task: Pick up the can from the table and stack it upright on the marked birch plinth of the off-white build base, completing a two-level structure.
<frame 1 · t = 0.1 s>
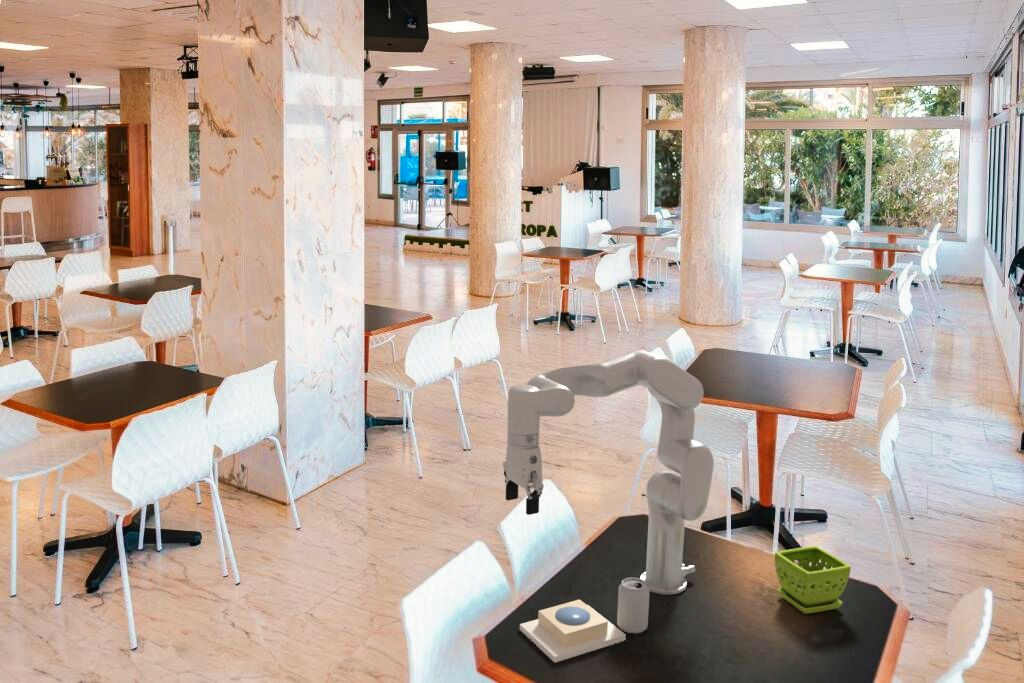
hand: (521, 506, 209), 31 cm above the table, tool pointing down, fingers open, 9 cm apart
flower pot: (808, 604, 228), on the table
can: (632, 628, 215), on the table
build base: (572, 635, 211), on the table
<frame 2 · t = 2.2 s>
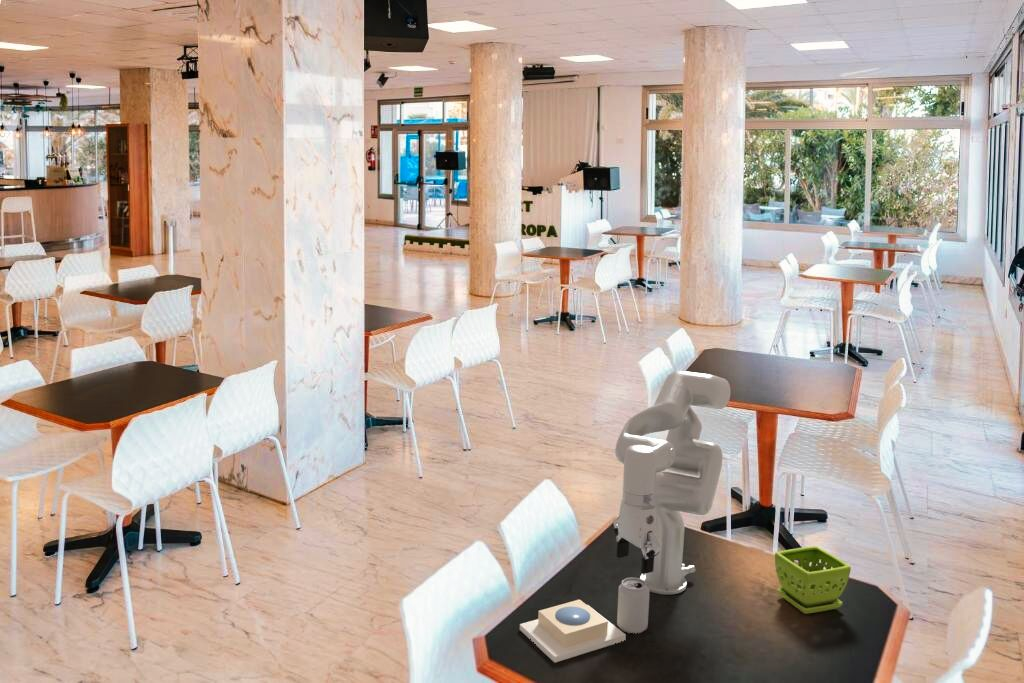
hand: (634, 564, 211), 17 cm above the table, tool pointing down, fingers open, 9 cm apart
nothing on the table moved.
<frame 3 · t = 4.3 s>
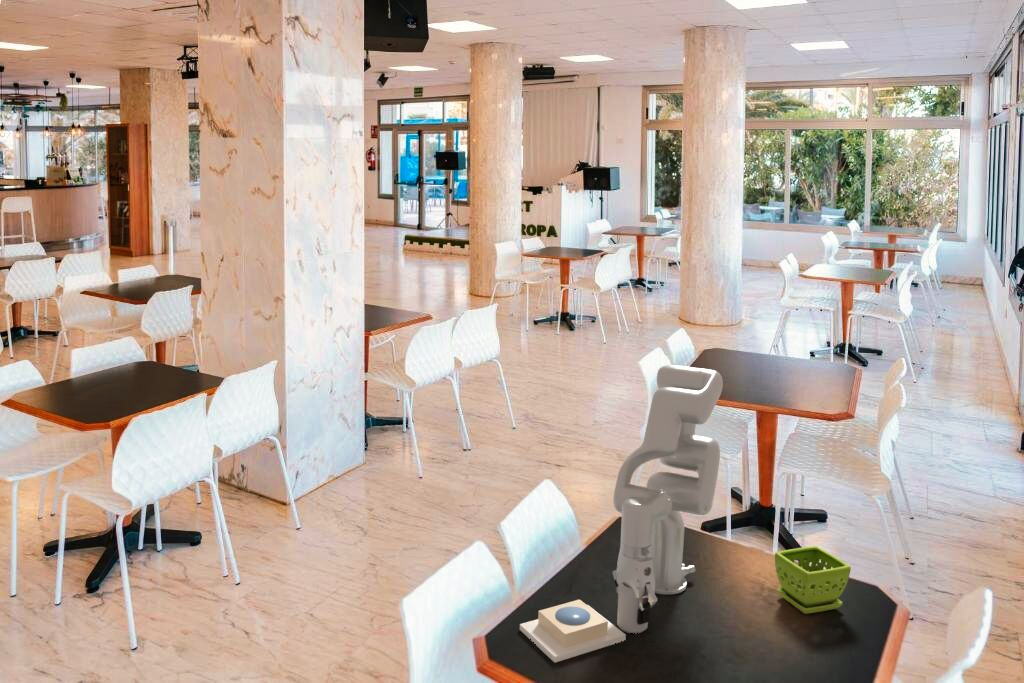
hand: (632, 614, 214), 3 cm above the table, tool pointing down, fingers closed on can, 7 cm apart
can: (632, 628, 215), on the table, touching gripper
everything else where it was.
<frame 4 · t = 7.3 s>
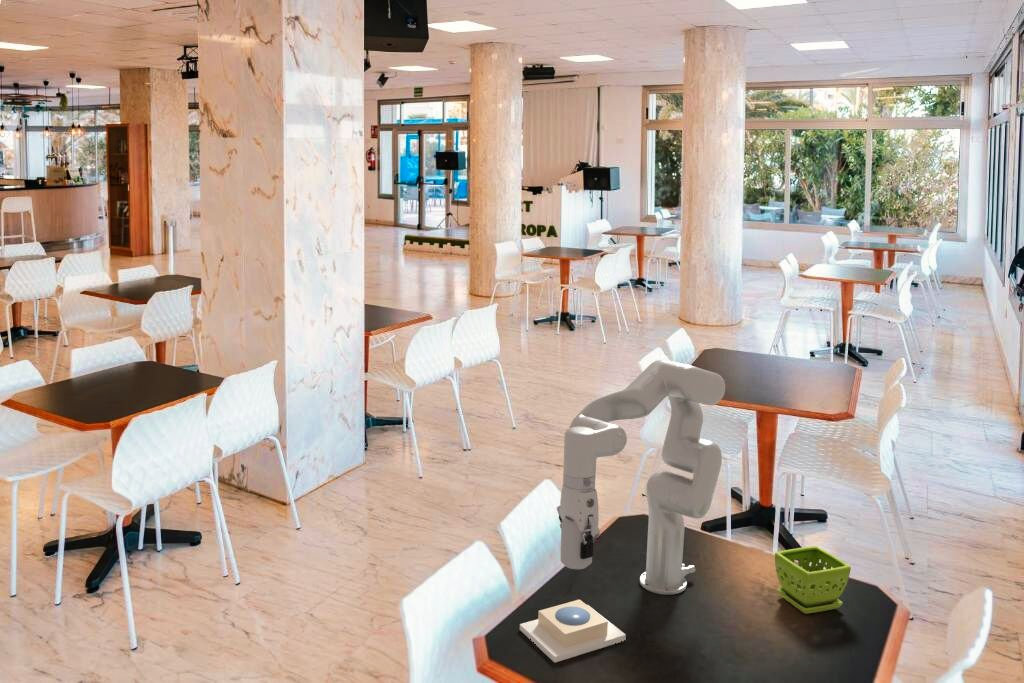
hand: (576, 550, 206), 22 cm above the table, tool pointing down, fingers closed on can, 7 cm apart
can: (576, 564, 207), point 18 cm above the table, touching gripper
everything else where it was.
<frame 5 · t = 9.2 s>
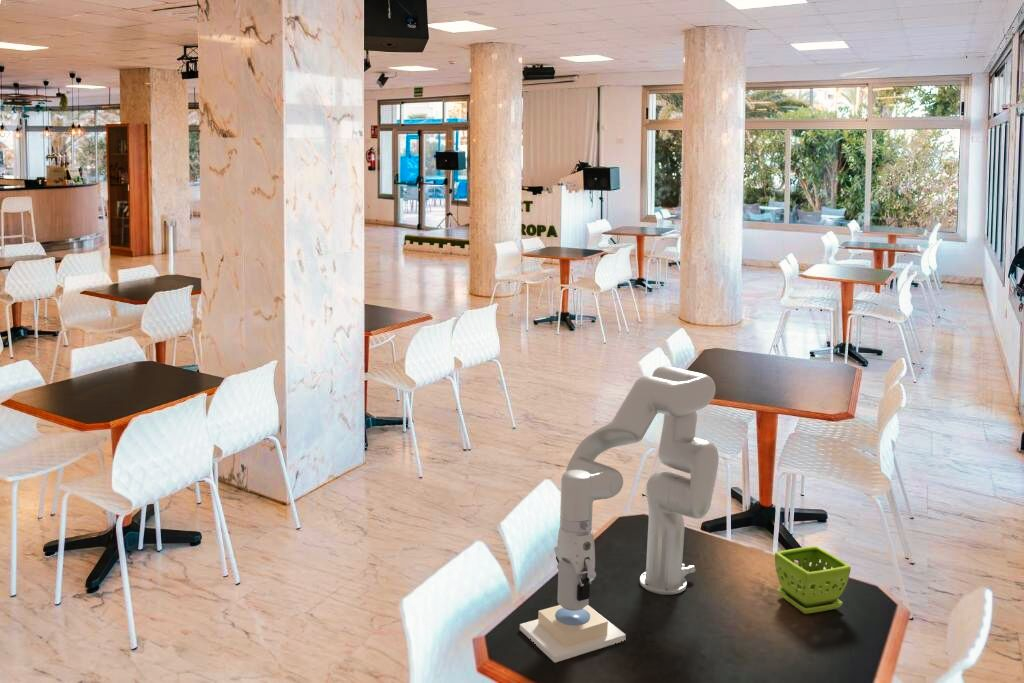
hand: (573, 591, 208), 11 cm above the table, tool pointing down, fingers closed on can, 7 cm apart
can: (572, 605, 209), point 8 cm above the table, touching gripper
everything else where it was.
when the fingers open (10 cm above the table, at t = 10.6 s): can drops 1 cm, resting on build base.
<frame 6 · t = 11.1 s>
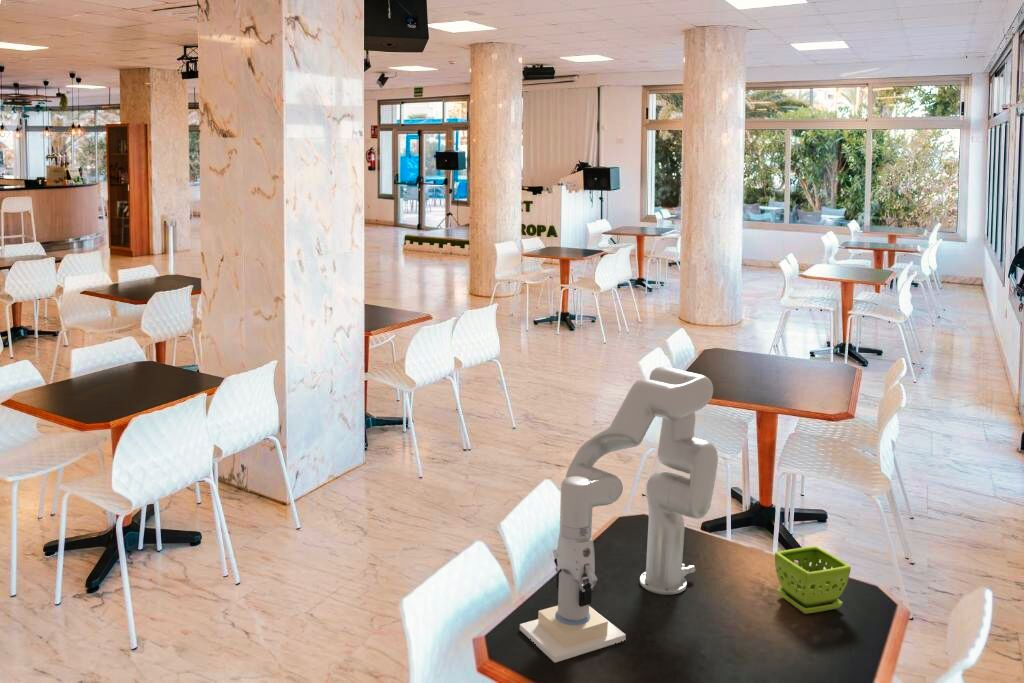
hand: (573, 595, 209), 10 cm above the table, tool pointing down, fingers open, 9 cm apart
can: (573, 615, 210), point 5 cm above the table, touching build base
everything else where it was.
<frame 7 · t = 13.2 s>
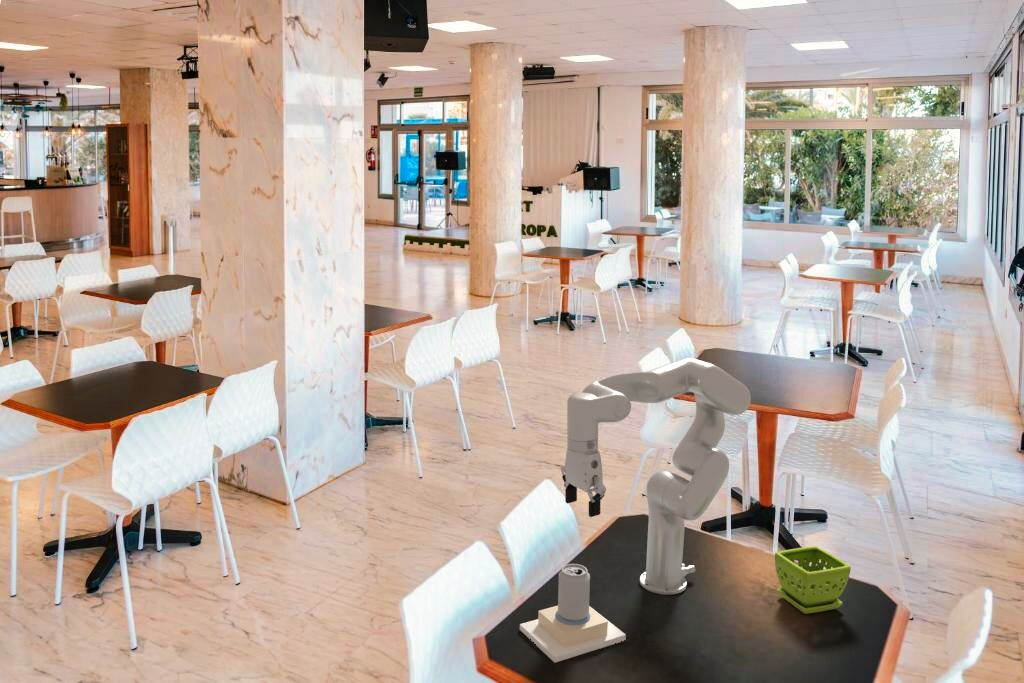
hand: (582, 508, 218), 27 cm above the table, tool pointing down, fingers open, 9 cm apart
nothing on the table moved.
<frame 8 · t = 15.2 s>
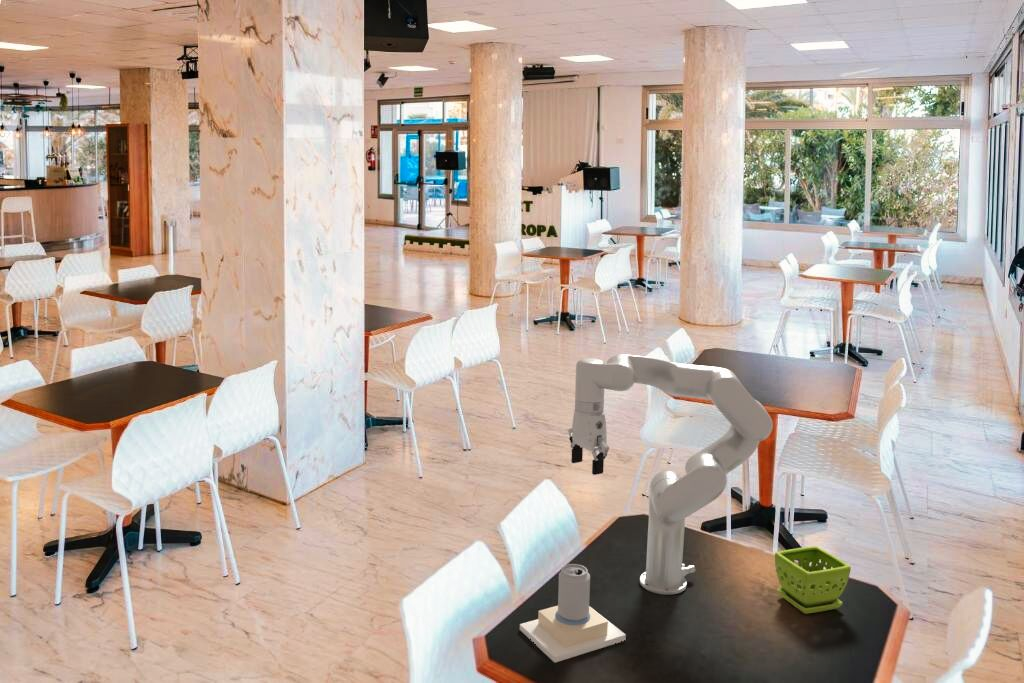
hand: (587, 467, 232), 32 cm above the table, tool pointing down, fingers open, 9 cm apart
nothing on the table moved.
at the end: can 0.1 cm off-centre on the build base, point 5.0 cm above the build base's base; can tilted 0°; the gripper is holding nothing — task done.
